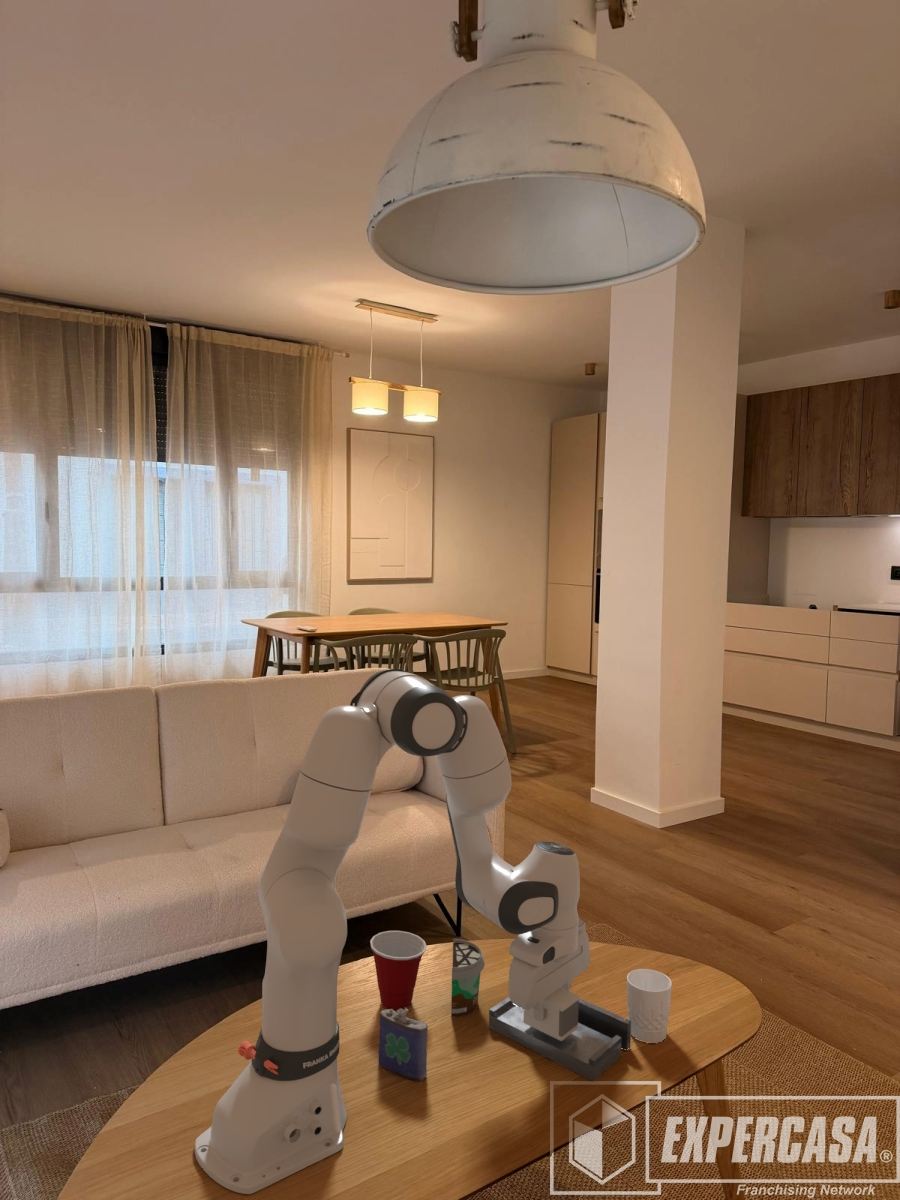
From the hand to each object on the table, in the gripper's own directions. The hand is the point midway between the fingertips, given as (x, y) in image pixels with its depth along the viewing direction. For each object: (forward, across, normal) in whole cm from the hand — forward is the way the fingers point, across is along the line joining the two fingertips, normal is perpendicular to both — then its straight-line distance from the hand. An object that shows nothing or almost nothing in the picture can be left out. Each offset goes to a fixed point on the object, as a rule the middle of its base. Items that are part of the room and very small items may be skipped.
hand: (550, 1011), depth 144 cm
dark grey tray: (+6, -3, 0) cm, 7 cm away
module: (+3, 0, 0) cm, 3 cm away
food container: (+6, 0, -19) cm, 20 cm away
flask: (+6, +23, -14) cm, 28 cm away
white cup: (+6, -15, +11) cm, 20 cm away
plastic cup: (+6, +9, -29) cm, 31 cm away
